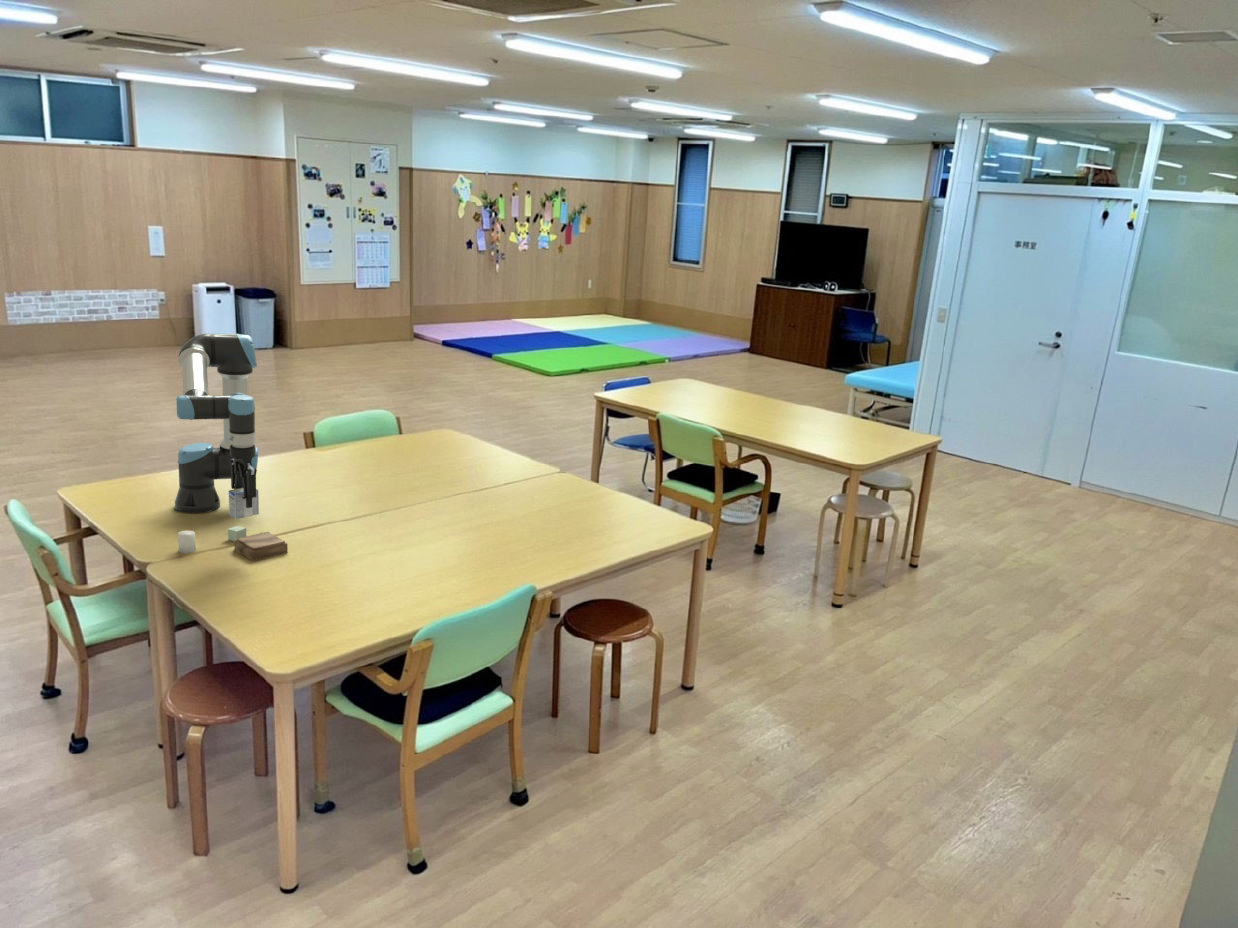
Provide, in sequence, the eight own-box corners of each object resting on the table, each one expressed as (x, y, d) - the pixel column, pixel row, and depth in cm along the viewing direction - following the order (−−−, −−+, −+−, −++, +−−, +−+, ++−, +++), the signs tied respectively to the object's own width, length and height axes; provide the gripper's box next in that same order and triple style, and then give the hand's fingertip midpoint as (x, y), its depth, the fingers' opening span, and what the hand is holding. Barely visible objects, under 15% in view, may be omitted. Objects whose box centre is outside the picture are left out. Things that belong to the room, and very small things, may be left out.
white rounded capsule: (175, 549, 294) (175, 532, 293) (191, 546, 298) (190, 529, 296) (182, 554, 291) (182, 537, 290) (198, 551, 295) (197, 533, 293)
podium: (234, 549, 299) (234, 538, 298) (268, 541, 308) (268, 530, 307) (253, 560, 292) (253, 549, 290) (287, 552, 300) (287, 541, 299)
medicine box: (252, 510, 296) (251, 485, 293) (259, 514, 293) (258, 489, 291) (229, 515, 290) (228, 490, 288) (235, 519, 287) (234, 493, 285)
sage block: (228, 539, 306) (227, 528, 305) (237, 536, 310) (237, 525, 309) (236, 542, 305) (236, 531, 304) (246, 539, 308) (246, 528, 307)
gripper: (218, 439, 288) (220, 508, 294) (244, 453, 277) (245, 524, 283) (240, 436, 293) (242, 504, 300) (267, 449, 282) (268, 519, 289)
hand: (244, 513), depth 291 cm, fingers closed on medicine box, 4 cm apart
